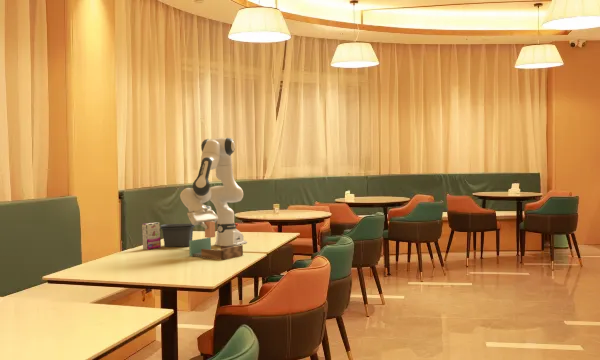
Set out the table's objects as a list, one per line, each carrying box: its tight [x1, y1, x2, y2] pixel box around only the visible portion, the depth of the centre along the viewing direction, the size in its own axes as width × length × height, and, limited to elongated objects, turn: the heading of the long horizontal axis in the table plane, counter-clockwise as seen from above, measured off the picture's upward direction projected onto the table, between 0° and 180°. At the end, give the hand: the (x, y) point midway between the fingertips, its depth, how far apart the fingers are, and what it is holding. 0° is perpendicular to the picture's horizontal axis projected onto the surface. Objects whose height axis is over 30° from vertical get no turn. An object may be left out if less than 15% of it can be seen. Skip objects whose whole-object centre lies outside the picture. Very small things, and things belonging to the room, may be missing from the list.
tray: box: [188, 237, 212, 258], centre depth 382 cm, size 17×16×9 cm
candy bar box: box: [141, 222, 162, 251], centre depth 417 cm, size 11×5×16 cm, turn 143°
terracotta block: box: [204, 221, 216, 239], centre depth 381 cm, size 4×4×9 cm
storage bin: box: [160, 222, 196, 248], centre depth 428 cm, size 21×16×14 cm
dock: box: [200, 244, 244, 261], centre depth 377 cm, size 18×16×6 cm
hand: (210, 228), depth 381 cm, fingers closed on terracotta block, 4 cm apart
